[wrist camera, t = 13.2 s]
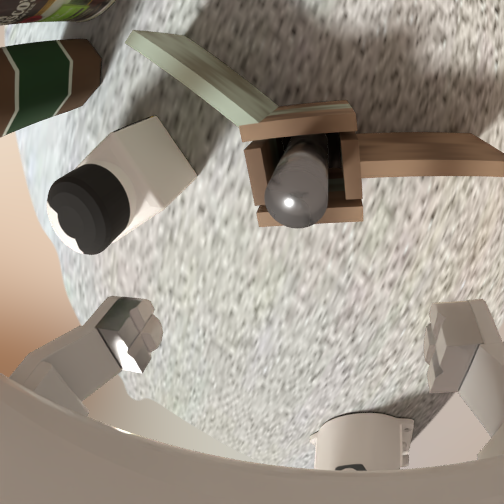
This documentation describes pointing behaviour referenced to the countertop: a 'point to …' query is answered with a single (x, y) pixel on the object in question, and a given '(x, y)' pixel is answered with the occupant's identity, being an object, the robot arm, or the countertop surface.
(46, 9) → the coffee can
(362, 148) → the stand
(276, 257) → the countertop surface
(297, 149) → the hinge pin
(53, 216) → the medicine bottle
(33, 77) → the beer bottle
